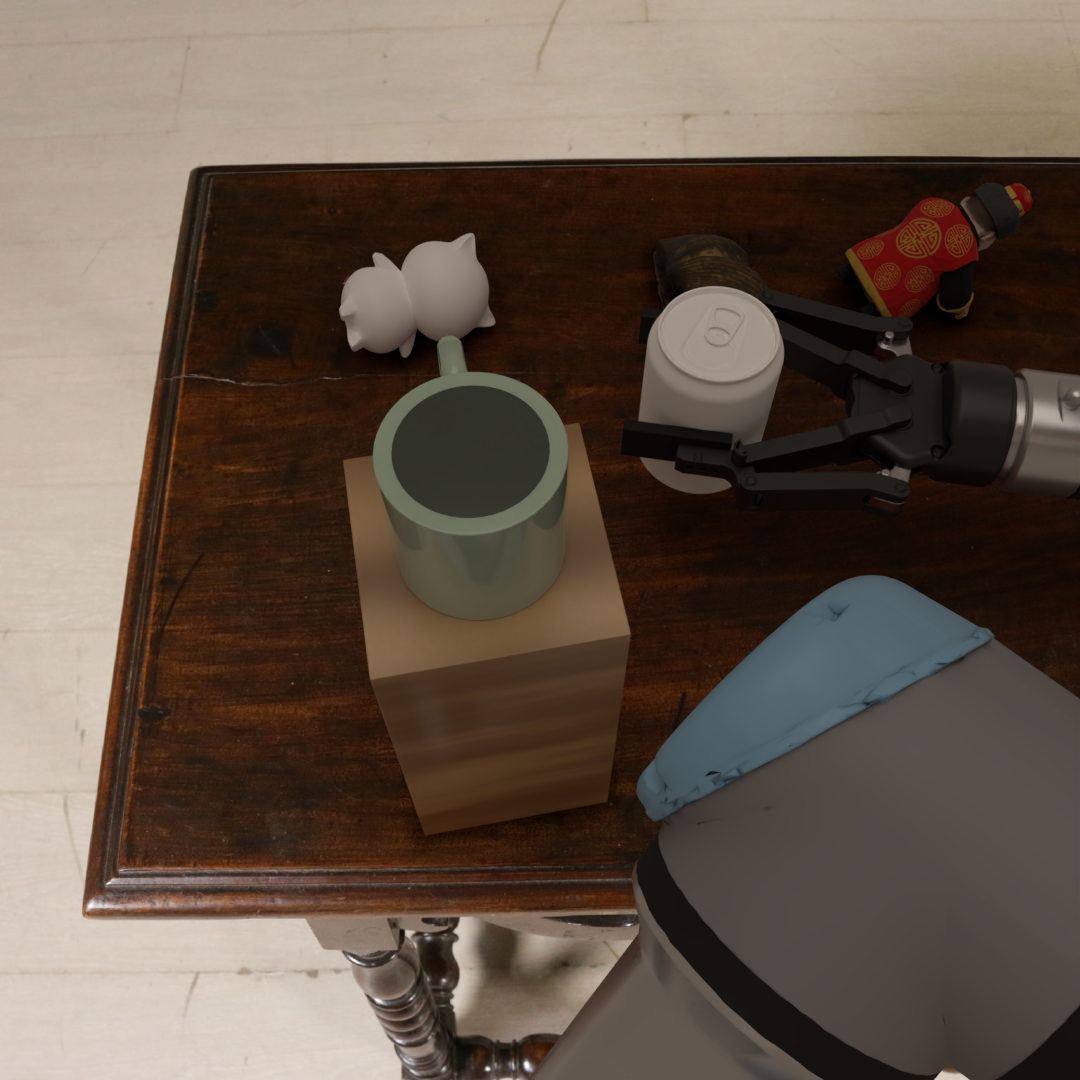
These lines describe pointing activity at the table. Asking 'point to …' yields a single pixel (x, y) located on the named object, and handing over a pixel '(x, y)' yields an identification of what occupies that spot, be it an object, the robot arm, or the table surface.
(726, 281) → the seashell
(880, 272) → the figurine
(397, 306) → the cat figurine
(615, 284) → the table surface
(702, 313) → the beverage can
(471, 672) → the plinth
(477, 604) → the mug
